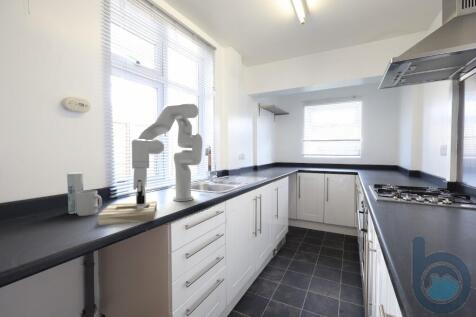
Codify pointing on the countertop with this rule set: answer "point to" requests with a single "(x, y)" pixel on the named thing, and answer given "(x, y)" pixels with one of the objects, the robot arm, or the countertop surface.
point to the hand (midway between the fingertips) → (141, 202)
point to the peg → (141, 204)
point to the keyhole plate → (127, 213)
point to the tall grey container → (74, 189)
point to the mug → (88, 202)
